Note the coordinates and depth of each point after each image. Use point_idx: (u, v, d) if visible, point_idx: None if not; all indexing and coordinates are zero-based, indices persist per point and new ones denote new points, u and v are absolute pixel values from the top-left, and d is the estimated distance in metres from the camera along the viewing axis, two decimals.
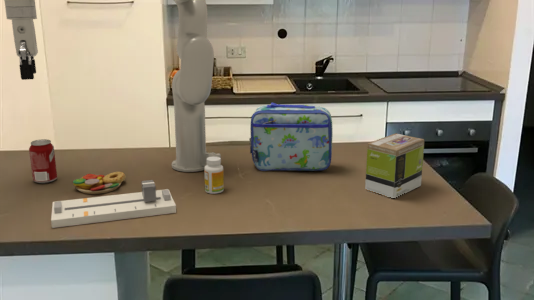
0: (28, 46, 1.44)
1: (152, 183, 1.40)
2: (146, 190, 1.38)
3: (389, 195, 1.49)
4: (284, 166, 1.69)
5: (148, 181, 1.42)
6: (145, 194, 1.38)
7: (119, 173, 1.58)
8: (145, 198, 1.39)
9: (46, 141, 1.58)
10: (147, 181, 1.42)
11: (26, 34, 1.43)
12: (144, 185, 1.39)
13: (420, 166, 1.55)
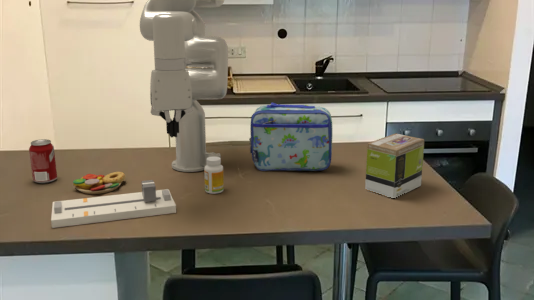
0: None
1: (152, 183, 1.40)
2: (146, 190, 1.38)
3: (389, 195, 1.49)
4: (284, 166, 1.69)
5: (148, 181, 1.42)
6: (145, 194, 1.38)
7: (119, 173, 1.58)
8: (145, 198, 1.39)
9: (46, 141, 1.58)
10: (147, 181, 1.42)
11: None
12: (144, 185, 1.39)
13: (420, 166, 1.55)
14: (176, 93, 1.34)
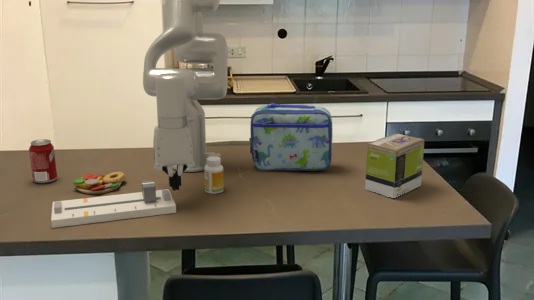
0: None
1: (152, 183, 1.40)
2: (146, 190, 1.38)
3: (389, 195, 1.49)
4: (284, 166, 1.69)
5: (148, 181, 1.42)
6: (145, 194, 1.38)
7: (119, 173, 1.58)
8: (145, 198, 1.39)
9: (46, 141, 1.58)
10: (147, 181, 1.42)
11: None
12: (144, 185, 1.39)
13: (420, 166, 1.55)
14: (178, 149, 1.38)
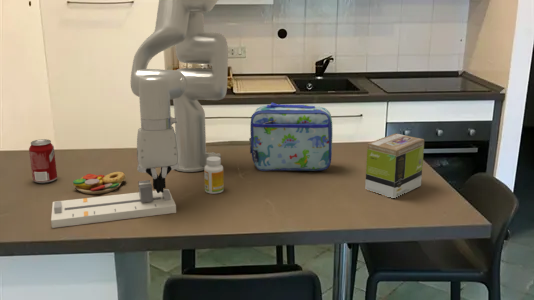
0: None
1: (149, 183, 1.40)
2: (143, 190, 1.38)
3: (389, 195, 1.49)
4: (284, 166, 1.69)
5: (145, 181, 1.42)
6: (142, 194, 1.38)
7: (119, 173, 1.58)
8: (142, 198, 1.38)
9: (46, 141, 1.58)
10: (144, 181, 1.42)
11: None
12: (141, 185, 1.39)
13: (420, 166, 1.55)
14: (162, 151, 1.37)
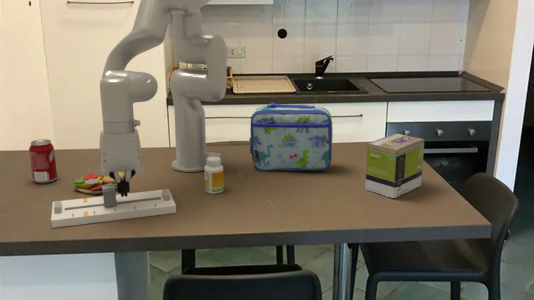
0: None
1: (112, 187, 1.37)
2: (106, 194, 1.35)
3: (389, 195, 1.49)
4: (284, 166, 1.69)
5: (109, 185, 1.39)
6: (105, 199, 1.35)
7: (119, 173, 1.58)
8: (105, 203, 1.36)
9: (46, 141, 1.58)
10: (108, 185, 1.39)
11: None
12: (104, 189, 1.36)
13: (420, 166, 1.55)
14: (125, 154, 1.34)
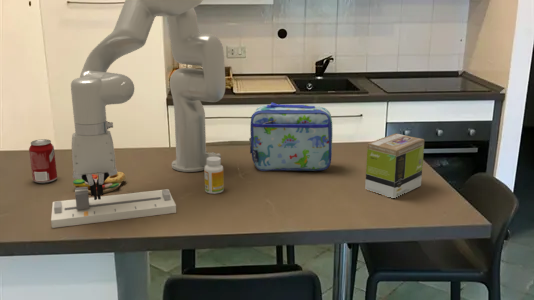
0: None
1: (85, 190, 1.35)
2: (78, 197, 1.33)
3: (389, 195, 1.49)
4: (284, 166, 1.69)
5: (82, 188, 1.37)
6: (77, 202, 1.33)
7: (119, 173, 1.58)
8: (77, 206, 1.34)
9: (46, 141, 1.58)
10: (81, 188, 1.37)
11: None
12: (76, 192, 1.34)
13: (420, 166, 1.55)
14: (97, 157, 1.32)
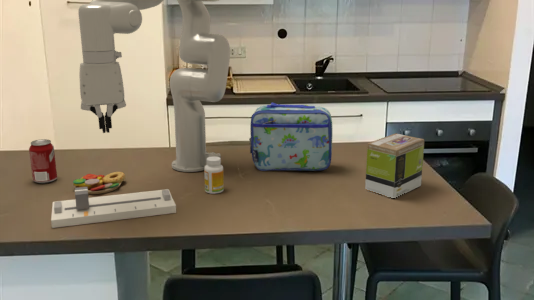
0: None
1: (85, 190, 1.35)
2: (78, 197, 1.33)
3: (389, 195, 1.49)
4: (284, 166, 1.69)
5: (82, 188, 1.37)
6: (77, 202, 1.33)
7: (119, 173, 1.58)
8: (77, 206, 1.34)
9: (46, 141, 1.58)
10: (81, 188, 1.37)
11: None
12: (76, 192, 1.34)
13: (420, 166, 1.55)
14: (106, 87, 1.29)
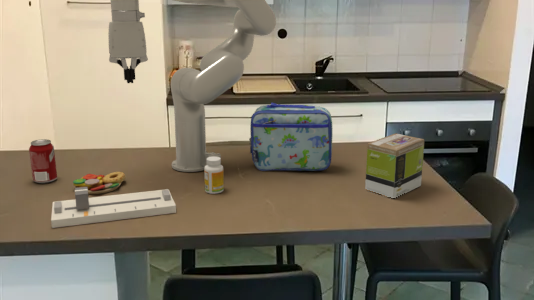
0: None
1: (85, 190, 1.35)
2: (78, 197, 1.33)
3: (389, 195, 1.49)
4: (284, 166, 1.69)
5: (82, 188, 1.37)
6: (77, 202, 1.33)
7: (119, 173, 1.58)
8: (77, 206, 1.34)
9: (46, 141, 1.58)
10: (81, 188, 1.37)
11: None
12: (76, 192, 1.34)
13: (420, 166, 1.55)
14: (131, 42, 1.50)
